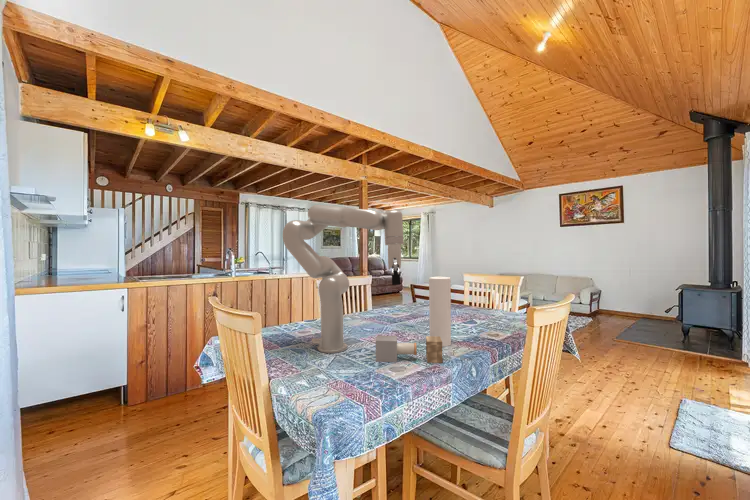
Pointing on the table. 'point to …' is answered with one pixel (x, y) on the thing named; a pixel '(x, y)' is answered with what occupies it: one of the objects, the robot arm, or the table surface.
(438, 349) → the socket
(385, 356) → the grey block
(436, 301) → the cylinder container
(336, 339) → the robot arm
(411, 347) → the tube
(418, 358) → the table surface
